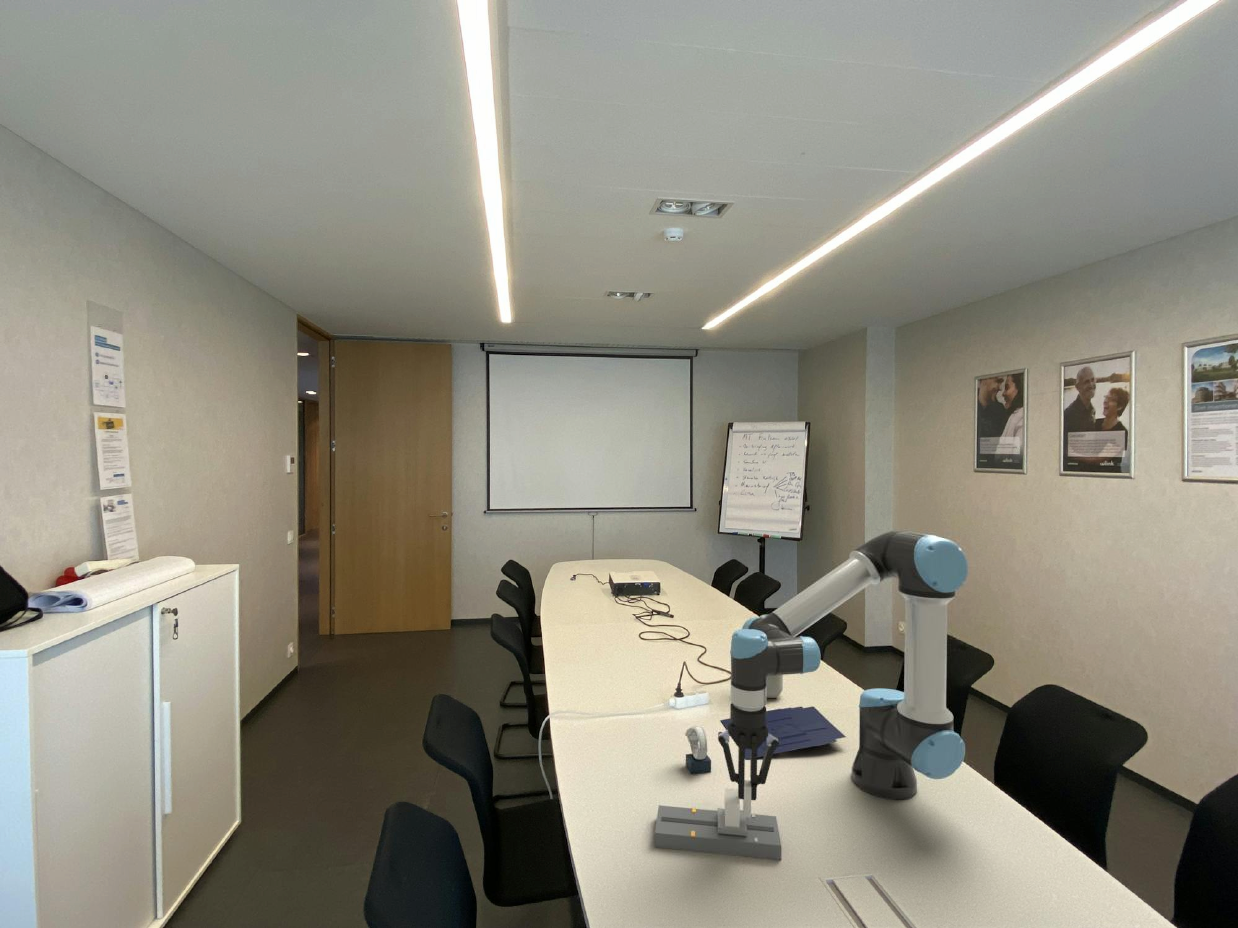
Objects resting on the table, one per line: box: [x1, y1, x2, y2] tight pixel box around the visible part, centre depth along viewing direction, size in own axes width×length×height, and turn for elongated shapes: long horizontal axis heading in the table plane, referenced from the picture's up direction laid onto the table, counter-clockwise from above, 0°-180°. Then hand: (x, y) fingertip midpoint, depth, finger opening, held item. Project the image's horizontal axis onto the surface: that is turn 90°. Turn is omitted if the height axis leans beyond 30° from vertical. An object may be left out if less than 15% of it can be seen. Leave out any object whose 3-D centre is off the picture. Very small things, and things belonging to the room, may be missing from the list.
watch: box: [684, 724, 712, 775], centre depth 157 cm, size 6×8×11 cm
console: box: [654, 804, 782, 861], centre depth 129 cm, size 26×10×3 cm, turn 81°
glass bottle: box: [758, 614, 784, 699], centre depth 205 cm, size 10×10×28 cm
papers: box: [720, 706, 847, 760], centre depth 176 cm, size 24×30×4 cm
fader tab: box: [716, 787, 747, 836], centre depth 128 cm, size 6×7×6 cm
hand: (747, 813), depth 128 cm, fingers closed
